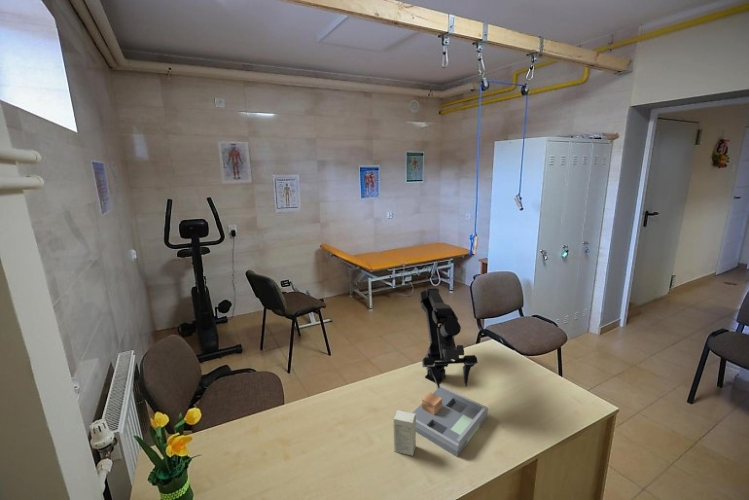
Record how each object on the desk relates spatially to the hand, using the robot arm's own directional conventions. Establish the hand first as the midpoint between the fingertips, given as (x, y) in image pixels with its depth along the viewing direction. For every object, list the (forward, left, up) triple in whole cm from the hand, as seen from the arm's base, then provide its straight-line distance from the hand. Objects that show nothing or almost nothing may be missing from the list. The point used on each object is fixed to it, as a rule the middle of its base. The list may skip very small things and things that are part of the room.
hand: (452, 387), depth 118 cm
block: (-6, -3, -10) cm, 12 cm away
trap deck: (0, -3, -12) cm, 12 cm away
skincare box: (-4, -22, -12) cm, 25 cm away
